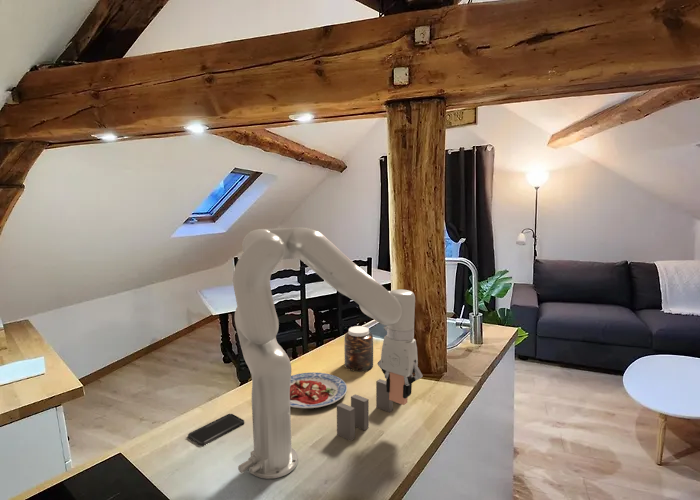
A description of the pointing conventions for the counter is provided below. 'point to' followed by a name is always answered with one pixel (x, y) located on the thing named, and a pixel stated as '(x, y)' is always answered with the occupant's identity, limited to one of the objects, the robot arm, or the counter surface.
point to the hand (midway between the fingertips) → (398, 393)
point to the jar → (358, 349)
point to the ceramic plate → (315, 390)
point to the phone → (215, 429)
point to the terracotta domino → (397, 388)
